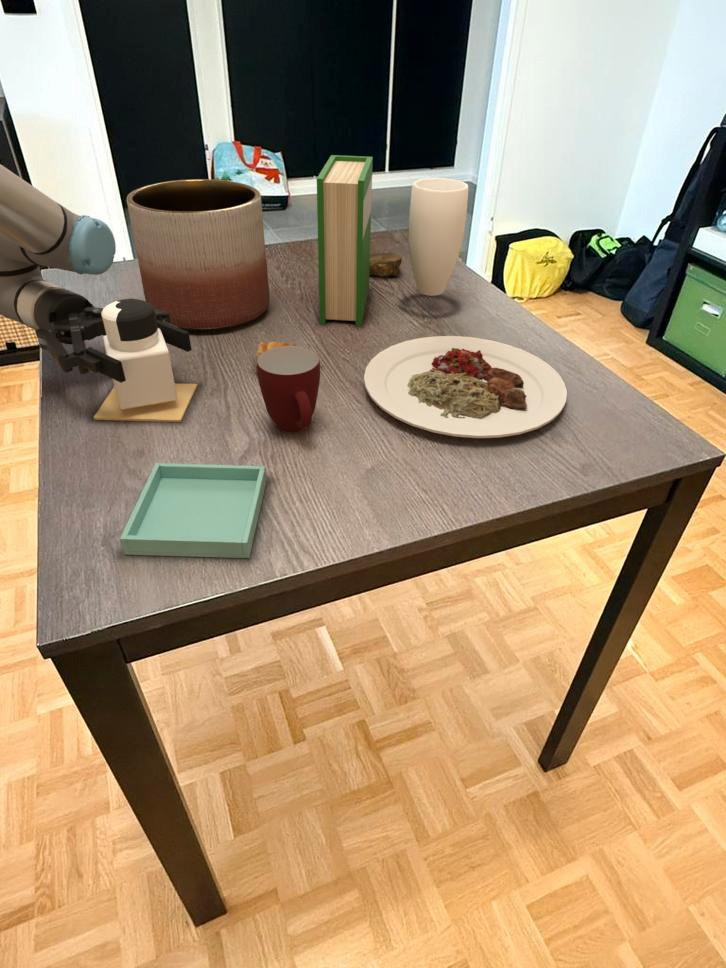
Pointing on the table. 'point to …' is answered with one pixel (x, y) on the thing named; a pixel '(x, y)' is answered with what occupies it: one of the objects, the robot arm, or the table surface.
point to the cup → (436, 231)
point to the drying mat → (149, 408)
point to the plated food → (465, 386)
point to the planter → (201, 251)
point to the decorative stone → (384, 264)
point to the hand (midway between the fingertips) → (156, 356)
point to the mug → (289, 385)
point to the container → (138, 354)
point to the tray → (196, 511)
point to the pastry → (269, 347)
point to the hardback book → (344, 237)
